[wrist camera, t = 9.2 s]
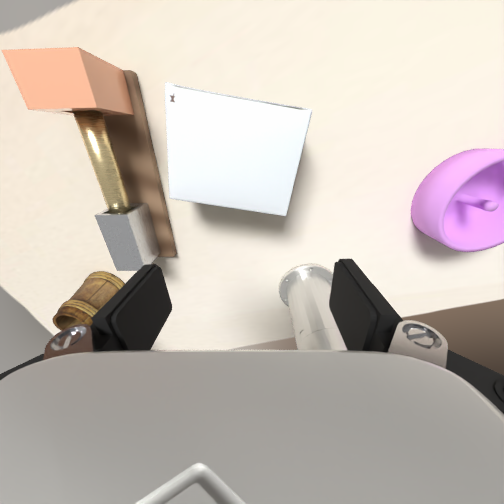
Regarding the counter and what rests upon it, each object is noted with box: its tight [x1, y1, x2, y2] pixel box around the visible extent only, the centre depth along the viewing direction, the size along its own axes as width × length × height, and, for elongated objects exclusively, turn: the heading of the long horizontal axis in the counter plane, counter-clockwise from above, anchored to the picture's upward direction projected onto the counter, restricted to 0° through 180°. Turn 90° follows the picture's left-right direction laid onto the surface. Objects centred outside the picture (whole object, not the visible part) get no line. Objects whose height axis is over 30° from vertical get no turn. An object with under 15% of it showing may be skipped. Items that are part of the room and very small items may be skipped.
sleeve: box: [95, 203, 161, 271], centre depth 36 cm, size 10×5×6 cm, turn 1°
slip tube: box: [72, 110, 132, 214], centre depth 30 cm, size 20×3×3 cm, turn 1°
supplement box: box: [165, 82, 312, 216], centre depth 30 cm, size 17×13×9 cm
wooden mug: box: [53, 271, 125, 331], centre depth 41 cm, size 9×14×18 cm, turn 25°
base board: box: [104, 70, 177, 257], centre depth 35 cm, size 29×10×2 cm, turn 1°
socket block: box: [2, 47, 134, 116], centre depth 26 cm, size 5×8×8 cm, turn 91°
